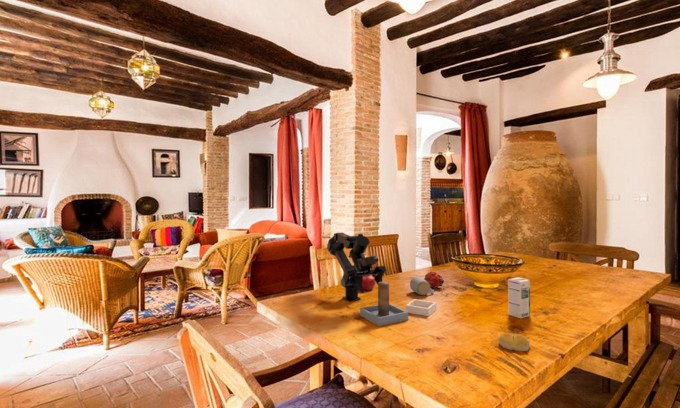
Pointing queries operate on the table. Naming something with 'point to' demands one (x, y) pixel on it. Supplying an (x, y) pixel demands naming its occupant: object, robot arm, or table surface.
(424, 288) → the ceramic mug
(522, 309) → the syrup box
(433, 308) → the holder
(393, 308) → the tray
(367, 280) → the pomegranate
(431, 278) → the dragon fruit
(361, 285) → the robot arm
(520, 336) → the bread roll
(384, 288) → the pepper mill
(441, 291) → the table surface
